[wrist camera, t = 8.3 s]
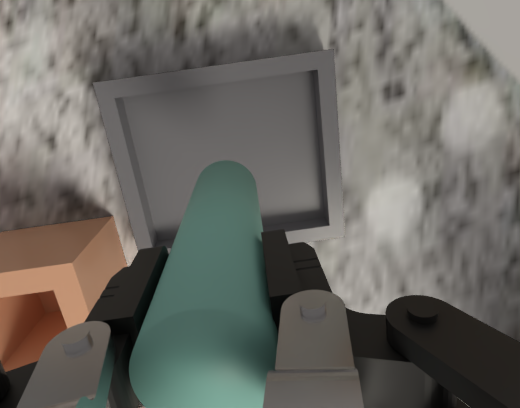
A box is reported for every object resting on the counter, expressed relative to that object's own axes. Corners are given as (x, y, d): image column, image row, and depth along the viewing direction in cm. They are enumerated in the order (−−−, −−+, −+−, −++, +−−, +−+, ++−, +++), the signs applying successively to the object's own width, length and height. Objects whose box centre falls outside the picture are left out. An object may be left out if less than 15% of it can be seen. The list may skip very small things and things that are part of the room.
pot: (113, 215, 27) (72, 262, 21) (139, 309, 30) (111, 377, 23) (2, 231, 27) (-74, 283, 21) (38, 323, 30) (-19, 395, 23)
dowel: (252, 156, 18) (273, 297, 7) (260, 213, 19) (290, 419, 8) (190, 165, 18) (110, 321, 7) (201, 222, 19) (148, 439, 8)
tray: (324, 50, 24) (333, 48, 22) (336, 223, 28) (345, 236, 26) (107, 81, 24) (92, 82, 22) (150, 249, 28) (141, 265, 26)
